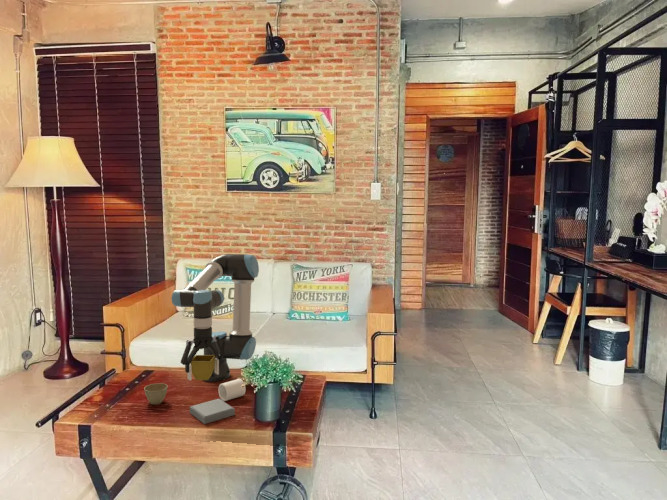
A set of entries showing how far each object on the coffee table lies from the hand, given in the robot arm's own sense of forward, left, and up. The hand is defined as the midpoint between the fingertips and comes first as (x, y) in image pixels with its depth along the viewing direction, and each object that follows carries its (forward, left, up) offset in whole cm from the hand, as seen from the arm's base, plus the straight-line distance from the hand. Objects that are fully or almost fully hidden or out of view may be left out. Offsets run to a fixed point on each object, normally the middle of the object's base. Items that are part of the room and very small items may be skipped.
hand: (203, 376), depth 205 cm
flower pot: (0, 0, -1) cm, 1 cm away
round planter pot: (+11, -24, -17) cm, 32 cm away
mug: (-18, -9, -17) cm, 26 cm away
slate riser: (-3, +3, -16) cm, 17 cm away
